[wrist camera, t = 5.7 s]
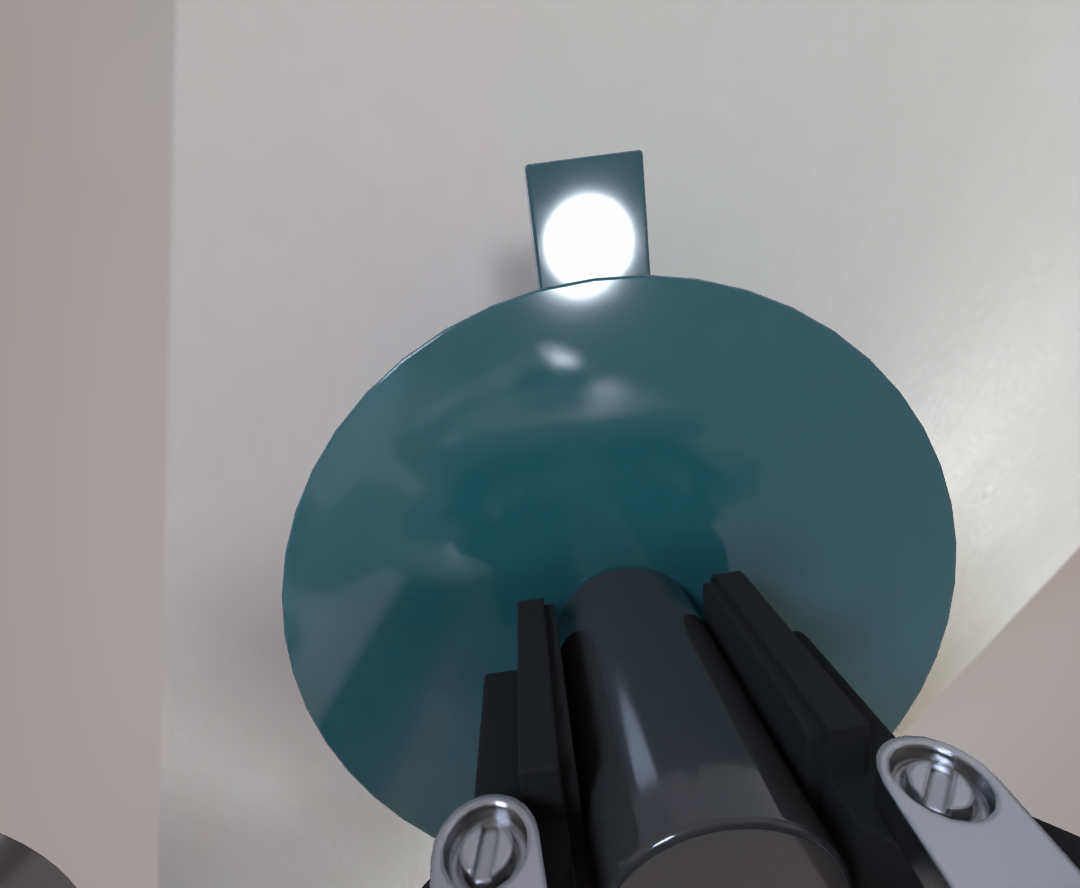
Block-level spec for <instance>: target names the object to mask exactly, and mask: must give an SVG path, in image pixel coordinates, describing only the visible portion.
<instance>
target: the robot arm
mask: <svg viewBox="0 0 1080 888" xmlns="http://www.w3.org/2000/svg"><path fill="white" fill-rule="evenodd" d="M703 605H704V624H705V626H706V627H707V629H708V631H709V632H710V634H711V636H712V637H713V639H714V641H715V643H716V644H717V646H718V648H719V649H720V651H721V653H722V654H723V656H724V658H725V659H726V661H727V663H728V665H729V666H730V668H731V670H732V671H733V673H734V675H735V676H736V678H737V680H738V682H739V683H740V685H741V687H742V688H743V690H744V692H745V693H746V695H747V697H748V698H749V700H750V702H751V704H752V705H753V707H754V709H755V710H756V712H757V714H758V715H759V717H760V719H761V721H762V722H763V724H764V726H765V727H766V729H767V731H768V732H769V734H770V736H771V737H772V739H773V741H774V743H775V744H776V746H777V748H778V749H779V751H780V753H781V754H782V756H783V758H784V760H785V761H786V763H787V765H788V766H789V768H790V770H791V771H792V773H793V775H794V776H795V778H796V780H797V782H798V783H799V785H800V787H801V788H802V790H803V792H804V793H805V795H806V797H807V799H808V800H809V802H810V804H811V805H812V807H813V809H814V810H815V812H816V814H817V815H818V817H819V819H820V821H821V822H822V824H823V826H824V827H825V829H826V831H827V832H828V834H829V836H830V837H831V839H832V841H833V843H834V844H835V846H836V848H837V849H838V851H839V853H840V854H841V856H842V858H843V860H844V861H845V864H846V866H847V868H848V870H849V873H850V877H851V882H852V887H853V888H1080V837H1079V836H1076V835H1074V834H1072V833H1069V832H1067V831H1064V830H1062V829H1060V828H1057V827H1055V826H1053V825H1050V824H1048V823H1046V822H1043V821H1041V820H1039V819H1036V818H1034V817H1032V816H1031V815H1030V814H1029V812H1028V811H1027V810H1026V809H1025V808H1024V807H1023V806H1022V805H1021V804H1020V802H1019V801H1018V800H1017V799H1016V798H1015V797H1014V796H1013V794H1012V793H1011V792H1010V791H1009V790H1008V789H1007V788H1006V787H1005V785H1004V784H1003V783H1002V782H1001V781H1000V780H999V779H998V778H997V777H996V776H995V775H994V774H993V773H992V772H991V771H990V770H989V769H988V768H987V767H985V766H984V765H983V764H982V763H981V762H979V761H978V760H976V759H975V758H973V757H972V756H970V755H968V754H967V753H965V752H964V751H962V750H960V749H958V748H955V747H953V746H951V745H949V744H946V743H944V742H941V741H937V740H934V739H930V738H926V737H919V736H902V737H897V738H895V736H894V735H893V734H892V733H891V732H890V731H889V730H888V728H887V727H886V726H885V725H884V724H883V723H882V722H881V720H880V719H879V718H878V717H877V716H876V715H875V714H874V712H873V711H872V710H871V709H870V708H869V707H868V706H867V704H866V703H865V702H864V701H863V700H862V699H861V698H860V696H859V695H858V694H857V693H856V692H855V691H854V690H853V688H852V687H851V686H850V685H849V684H848V683H847V682H846V680H845V679H844V678H843V677H842V676H841V675H840V674H839V672H838V671H837V670H836V669H835V668H834V667H833V666H832V664H831V663H830V662H829V661H828V660H827V659H826V658H825V656H824V655H823V654H822V653H821V652H820V651H819V650H818V648H817V647H816V646H815V645H814V644H813V643H812V641H811V640H810V639H809V638H808V637H807V636H806V635H805V634H803V633H802V632H799V631H794V632H792V631H791V629H790V628H789V627H788V626H787V625H786V623H785V622H784V621H783V620H782V619H781V618H780V616H779V615H778V614H777V613H776V612H775V610H774V609H773V608H772V607H771V606H770V604H769V603H768V602H767V601H766V600H765V599H764V597H763V596H762V595H761V594H760V593H759V591H758V590H757V589H756V588H755V587H754V585H753V584H752V583H751V582H750V581H749V580H748V578H747V577H746V576H745V575H744V574H743V573H742V572H741V571H734V572H727V573H720V574H713V575H712V576H711V582H707V583H704V584H703ZM517 637H518V670H511V671H504V672H497V673H490V674H486V675H485V679H484V688H483V699H482V711H481V723H480V735H479V747H478V758H477V770H476V782H475V794H474V799H472V800H469V801H467V802H466V803H465V804H463V805H462V806H460V807H459V808H457V809H456V810H455V811H454V812H453V813H452V814H451V815H450V816H449V818H448V819H447V820H446V821H445V822H444V823H443V825H442V827H441V829H440V831H439V833H438V835H437V837H436V839H435V841H434V846H433V851H432V856H431V870H430V879H429V881H428V882H427V883H426V884H425V885H424V886H423V887H422V888H590V887H589V879H588V871H587V863H586V855H585V832H584V824H583V816H582V809H581V801H580V793H579V785H578V778H577V770H576V762H575V755H574V747H573V739H572V732H571V724H570V716H569V708H568V701H567V693H566V685H565V678H564V670H563V662H562V655H561V647H560V640H559V632H558V625H557V617H556V610H555V603H554V604H547V605H545V604H544V598H537V599H530V600H523V601H518V602H517Z"/></svg>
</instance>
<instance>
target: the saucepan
mask: <svg viewBox="0 0 1080 888" xmlns="http://www.w3.org/2000/svg"><path fill="white" fill-rule="evenodd" d="M525 185H526V193H527V201H528V210H529V218H530V226H531V234H532V243H533V251H534V259H535V267H536V276H537V284H538V289H541V288H546V287H551V286H556V285H561V284H566V283H571V282H576V281H581V280H586V279H591V278H602V277H618V276H635V275H650V263H649V247H648V231H647V215H646V199H645V184H644V168H643V153H642V151H641V150H634V151H627V152H619V153H611V154H604V155H596V156H589V157H581V158H573V159H566V160H558V161H550V162H543V163H535V164H528V165H526V167H525Z"/></svg>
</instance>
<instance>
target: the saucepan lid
mask: <svg viewBox="0 0 1080 888" xmlns="http://www.w3.org/2000/svg"><path fill="white" fill-rule="evenodd" d="M955 565H956V538H955V529H954V520H953V512H952V504H951V500H950V497H949V493H948V489H947V486H946V482H945V479H944V475H943V471H942V468H941V465H940V462H939V460H938V458H937V456H936V454H935V451H934V449H933V447H932V445H931V443H930V440H929V438H928V436H927V434H926V432H925V429H924V427H923V426H922V424H921V423H920V421H919V420H918V418H917V417H916V415H915V414H914V412H913V411H912V409H911V408H910V406H909V405H908V403H907V402H906V400H905V399H904V397H903V396H902V394H901V393H900V392H899V390H898V389H897V388H896V387H895V386H894V385H893V384H892V383H891V382H890V381H889V380H888V379H887V377H886V376H885V375H884V374H883V373H882V372H881V371H880V370H879V369H878V368H877V367H876V366H875V364H874V363H873V362H872V361H871V360H870V359H869V358H868V357H866V356H865V355H864V354H862V353H861V352H860V351H859V350H857V349H856V348H855V347H854V346H852V345H851V344H850V343H849V342H847V341H846V340H845V339H844V338H842V337H841V336H840V335H838V334H837V333H836V332H835V331H833V330H832V329H830V328H828V327H826V326H824V325H823V324H821V323H819V322H817V321H816V320H814V319H812V318H810V317H809V316H807V315H805V314H803V313H802V312H800V311H798V310H796V309H794V308H793V307H790V306H788V305H785V304H782V303H780V302H777V301H775V300H772V299H769V298H767V297H764V296H761V295H759V294H756V293H754V292H751V291H748V290H745V289H741V288H736V287H732V286H727V285H723V284H718V283H714V282H709V281H705V280H700V279H693V278H680V277H667V276H655V275H635V276H618V277H602V278H591V279H586V280H581V281H576V282H571V283H566V284H561V285H556V286H551V287H546V288H541V289H538V290H536V291H533V292H530V293H527V294H524V295H521V296H518V297H515V298H513V299H510V300H507V301H504V302H501V303H498V304H495V305H492V306H490V307H488V308H486V309H484V310H482V311H480V312H478V313H476V314H474V315H472V316H470V317H469V318H467V319H465V320H463V321H461V322H459V323H457V324H455V325H453V326H451V327H449V328H447V329H445V330H443V331H442V332H441V333H439V334H438V335H436V336H435V337H433V338H432V339H431V340H429V341H428V342H426V343H425V344H423V345H422V346H421V347H419V348H418V349H416V350H415V351H413V352H412V353H410V354H409V355H408V356H406V357H405V358H403V359H402V360H401V361H400V362H399V363H398V364H397V365H396V366H395V367H393V368H392V369H391V370H390V371H389V372H388V373H387V374H386V375H385V376H384V377H383V378H382V379H381V380H379V381H378V382H377V383H376V384H375V385H374V386H373V387H372V388H371V389H370V390H369V391H368V392H366V394H365V395H364V396H363V397H362V399H361V400H360V401H359V402H358V404H357V405H356V406H355V407H354V408H353V410H352V411H351V412H350V413H349V415H348V416H347V417H346V418H345V420H344V421H343V422H342V423H341V424H340V426H339V427H338V428H337V429H336V431H335V433H334V434H333V436H332V438H331V439H330V441H329V443H328V444H327V446H326V448H325V449H324V451H323V453H322V454H321V456H320V458H319V459H318V461H317V463H316V465H315V466H314V468H313V470H312V472H311V474H310V477H309V479H308V482H307V484H306V487H305V489H304V491H303V494H302V496H301V499H300V501H299V504H298V506H297V509H296V511H295V515H294V519H293V523H292V527H291V532H290V536H289V540H288V544H287V548H286V552H285V563H284V575H283V587H282V605H283V620H284V634H285V639H286V644H287V648H288V653H289V657H290V662H291V666H292V671H293V674H294V677H295V680H296V682H297V685H298V687H299V690H300V692H301V695H302V698H303V700H304V703H305V705H306V708H307V710H308V712H309V714H310V715H311V717H312V719H313V721H314V722H315V724H316V726H317V728H318V729H319V731H320V733H321V735H322V737H323V738H324V740H325V742H326V743H327V744H328V746H329V747H330V748H331V750H332V751H333V752H334V754H335V755H336V756H337V757H338V759H339V760H340V761H341V763H342V764H343V765H344V767H345V768H346V769H347V771H348V772H349V773H350V774H351V775H352V776H353V777H354V778H355V779H356V780H357V781H358V782H359V783H360V784H361V785H362V786H363V787H364V788H365V789H366V790H367V791H368V792H369V793H370V794H371V795H372V796H373V797H375V798H376V799H377V800H379V801H380V802H381V803H382V804H384V805H385V806H386V807H388V808H389V809H390V810H391V811H393V812H394V813H395V814H397V815H398V816H399V817H401V818H402V819H403V820H405V821H407V822H408V823H410V824H412V825H413V826H415V827H417V828H418V829H420V830H422V831H423V832H425V833H427V834H428V835H430V836H432V837H434V838H436V837H437V835H438V833H439V831H440V829H441V827H442V825H443V823H444V822H445V821H446V820H447V819H448V818H449V816H450V815H451V814H452V813H453V812H454V811H455V810H456V809H457V808H459V807H460V806H462V805H463V804H465V803H466V802H467V801H469V800H472V799H474V794H475V782H476V770H477V758H478V747H479V735H480V723H481V711H482V699H483V688H484V679H485V675H486V674H490V673H497V672H504V671H511V670H518V637H517V602H518V601H523V600H530V599H537V598H544V604H545V605H547V604H554V603H555V610H556V617H557V625H558V632H559V640H560V647H561V655H562V662H563V670H564V678H565V685H566V693H567V701H568V708H569V716H570V724H571V732H572V739H573V747H574V755H575V762H576V770H577V778H578V785H579V793H580V801H581V809H582V816H583V824H584V832H585V855H586V863H587V871H588V879H589V887H590V888H853V887H852V882H851V877H850V873H849V870H848V868H847V866H846V864H845V861H844V860H843V858H842V856H841V854H840V853H839V851H838V849H837V848H836V846H835V844H834V843H833V841H832V839H831V837H830V836H829V834H828V832H827V831H826V829H825V827H824V826H823V824H822V822H821V821H820V819H819V817H818V815H817V814H816V812H815V810H814V809H813V807H812V805H811V804H810V802H809V800H808V799H807V797H806V795H805V793H804V792H803V790H802V788H801V787H800V785H799V783H798V782H797V780H796V778H795V776H794V775H793V773H792V771H791V770H790V768H789V766H788V765H787V763H786V761H785V760H784V758H783V756H782V754H781V753H780V751H779V749H778V748H777V746H776V744H775V743H774V741H773V739H772V737H771V736H770V734H769V732H768V731H767V729H766V727H765V726H764V724H763V722H762V721H761V719H760V717H759V715H758V714H757V712H756V710H755V709H754V707H753V705H752V704H751V702H750V700H749V698H748V697H747V695H746V693H745V692H744V690H743V688H742V687H741V685H740V683H739V682H738V680H737V678H736V676H735V675H734V673H733V671H732V670H731V668H730V666H729V665H728V663H727V661H726V659H725V658H724V656H723V654H722V653H721V651H720V649H719V648H718V646H717V644H716V643H715V641H714V639H713V637H712V636H711V634H710V632H709V631H708V629H707V627H706V626H705V624H704V605H703V584H704V583H707V582H711V576H712V575H713V574H720V573H727V572H734V571H741V572H742V573H743V574H744V575H745V576H746V577H747V578H748V580H749V581H750V582H751V583H752V584H753V585H754V587H755V588H756V589H757V590H758V591H759V593H760V594H761V595H762V596H763V597H764V599H765V600H766V601H767V602H768V603H769V604H770V606H771V607H772V608H773V609H774V610H775V612H776V613H777V614H778V615H779V616H780V618H781V619H782V620H783V621H784V622H785V623H786V625H787V626H788V627H789V628H790V629H791V631H792V632H794V631H799V632H802V633H803V634H805V635H806V636H807V637H808V638H809V639H810V640H811V641H812V643H813V644H814V645H815V646H816V647H817V648H818V650H819V651H820V652H821V653H822V654H823V655H824V656H825V658H826V659H827V660H828V661H829V662H830V663H831V664H832V666H833V667H834V668H835V669H836V670H837V671H838V672H839V674H840V675H841V676H842V677H843V678H844V679H845V680H846V682H847V683H848V684H849V685H850V686H851V687H852V688H853V690H854V691H855V692H856V693H857V694H858V695H859V696H860V698H861V699H862V700H863V701H864V702H865V703H866V704H867V706H868V707H869V708H870V709H871V710H872V711H873V712H874V714H875V715H876V716H877V717H878V718H879V719H880V720H881V722H882V723H883V724H884V725H885V726H886V727H887V728H888V730H889V731H890V732H891V733H893V732H894V730H895V729H896V728H897V727H898V725H899V724H900V723H901V721H902V720H903V718H904V716H905V715H906V713H907V712H908V710H909V708H910V707H911V705H912V704H913V702H914V700H915V699H916V697H917V696H918V694H919V692H920V691H921V689H922V687H923V685H924V682H925V680H926V678H927V676H928V674H929V672H930V670H931V667H932V665H933V663H934V661H935V659H936V657H937V654H938V651H939V648H940V644H941V641H942V638H943V635H944V632H945V629H946V626H947V622H948V619H949V613H950V607H951V602H952V596H953V590H954V585H955Z"/></svg>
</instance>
